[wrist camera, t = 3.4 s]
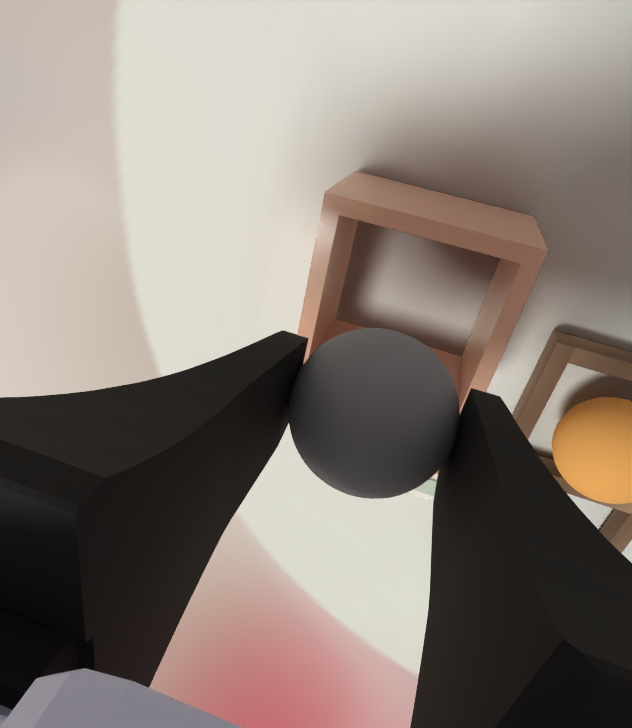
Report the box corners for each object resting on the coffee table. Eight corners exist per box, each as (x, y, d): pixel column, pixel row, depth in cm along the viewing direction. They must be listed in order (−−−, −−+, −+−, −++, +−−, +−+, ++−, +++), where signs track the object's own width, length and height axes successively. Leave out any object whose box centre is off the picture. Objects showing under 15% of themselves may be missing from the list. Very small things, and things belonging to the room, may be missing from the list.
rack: (729, 379, 17) (741, 395, 16) (580, 582, 23) (584, 601, 22) (553, 330, 18) (557, 342, 17) (452, 537, 24) (451, 554, 23)
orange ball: (676, 396, 18) (717, 460, 15) (625, 471, 20) (651, 542, 17) (571, 365, 18) (590, 421, 15) (531, 441, 20) (540, 505, 17)
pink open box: (534, 216, 16) (548, 250, 13) (470, 371, 20) (468, 431, 16) (355, 170, 17) (325, 191, 14) (321, 326, 20) (289, 374, 17)
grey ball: (484, 327, 11) (487, 418, 8) (435, 449, 13) (422, 560, 10) (329, 284, 12) (278, 354, 9) (303, 408, 14) (253, 501, 11)
